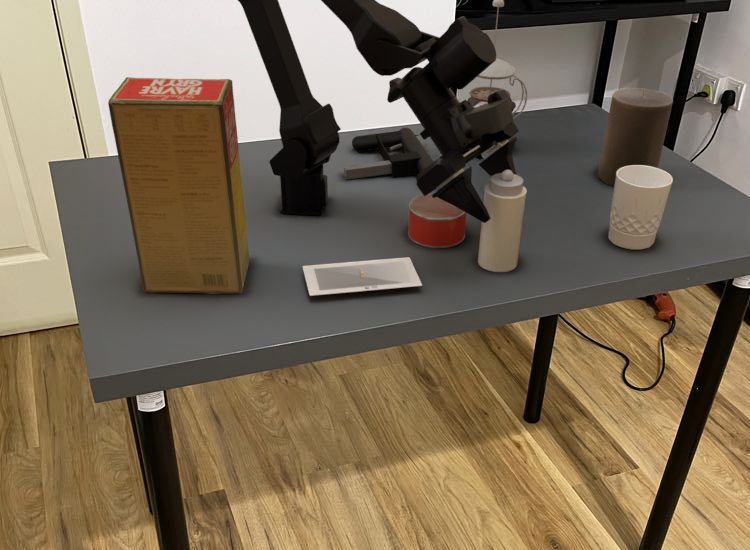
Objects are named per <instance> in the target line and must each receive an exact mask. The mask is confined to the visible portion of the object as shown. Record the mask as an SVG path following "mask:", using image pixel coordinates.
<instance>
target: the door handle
mask: <svg viewBox="0 0 750 550" xmlns="http://www.w3.org/2000/svg"><path fill="white" fill-rule="evenodd" d="M418 136H419V134H415V133H414V131H413V130H412V129H411V128H410V127H402V128H400V129H399V130H396V131H387V132H386V131H385V132H380V133H379V132H378V133H372V134H364V135H356V136H355V137H353V138H352V140H351V146H352V149H354V151H356V152H365V151H366V152H367V151H373V150H374V151H375V150H377V151H378V152H379V154H380V156H381V158H382V160H381V161H373V162H366V163H359V164H352V165H351V164H350V165H344V166H343V175H344V178H345V179H346V180H353V179H355V180H356V179H361V178H369V177H376V176H382V175H391V177H392V178H400V177H408V176H414V175H415V176H416V175H418V174H419V173H420V172H422V171H423V170H424V169H425V168H426V167H428V166H429V165H430V164H431V163H433V162H434V161H435V160H433V158H432V157H431V155H430V154H429V153H428V151H427V149H426V148H425V147H424V146H423V144H422V143H421V140H420V139H418ZM387 148H388V149H387ZM401 148H403V150H404V152H402V153H396V154H395V153H394V154H390V153H392V152H393V151H395V150H397V149H401Z"/></svg>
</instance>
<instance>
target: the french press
mask: <svg viewBox="0 0 750 550" xmlns="http://www.w3.org/2000/svg"><path fill="white" fill-rule="evenodd" d="M492 6H493V7H494V8H495V7H496V8H497V11H496V21H495V31H494V41H493V45H494V47H495V48H496V39H497V33H498V32H497V30H498V20H499V10H500V8H502V7H504V6H505V0H493V1H492ZM516 72H517V70H516V68H515V67H514V66H513V65H511V64H510V63H509V62H507V61H505V60H502V59H499V58H496V60H495V62H493V63H492V64H491V65H490V66H489V67H488V68H486V69H485V70H484V71H483V72H482V73H481V74H479V75H478V76H477V77H476V78H480V79H484V80H490V83H489V84H490V85H489V86H485V85H484V86H476V87H474V88H472V89H471V90H469V92H468V93H469V95H470V96H469V98H467V99H466V101H469V102H470V103H471V105H472V106H473V107H474V108H476V107H477V105H478V104H480V103H482V102H483V103H488V96H489V95H490V94H492V93H494V92H496V91H499V90H503V89H504V88H500V87H497V86H496V87H495V86H492V83H493V80H506V79H507V80H508V79H509V82H508V83H509V84H510V86H512V87H513V86H514V85H515V80H517V81H518V82H519V83H520V85H521V90H522V92H521V100H520V102H519V105H518V107H517V108H515V109H514V110H513V112H512V115H513V118H514V120H515V119H516V118H518V117H519V116H520V115H521V114H522V113H523V112H524V110H525V108H526V105H527V101H528V89H527V87H526V84H525V83H524V82H523V81H522V80H521V79H520V78H519V77H517V76H516V75H515V74H516ZM512 78H513V80H512ZM504 91H505V92H506V93H507V94H508V96H509V97H510V98H511V93H510V92H509V90H507V89H504ZM524 96H525V97H524ZM523 101H524V103H523ZM522 103H523V105H522ZM482 105H483V104H481V105H479V106H482ZM521 106H522V108H521V111H520V112H519V113H518V114H516V113H517V112H518V111H519V109H520V107H521ZM515 114H516V115H515ZM514 115H515V116H514Z"/></svg>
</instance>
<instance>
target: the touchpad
mask: <svg viewBox="0 0 750 550" xmlns="http://www.w3.org/2000/svg"><path fill="white" fill-rule="evenodd" d="M301 267H302V271H303V275H304V279H305V282H306V283H305V284H306V287H307V290H308V294H309V297H312V296H323V295H333V294H334V295H335V294H336V295H337V294H346V293H358V292H367V291H379V290H380V291H381V290H390V289H400V288H401V289H402V288H412V287H422V286H423V282H422V281H421V279H420V277H419V275H418V273H417V270H416V269H415V266H414V264H413V261H412V260H411V258H410V257H409V256H407V257H396V258H383V259H382V258H381V259H369V260H359V261H357V260H356V261H345V262H334V263H323V264H322V263H320V264H311V265H310V264H309V265H302V266H301Z"/></svg>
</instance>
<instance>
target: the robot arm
mask: <svg viewBox="0 0 750 550" xmlns="http://www.w3.org/2000/svg"><path fill="white" fill-rule="evenodd" d="M320 1H321V2H322V3H323V4H324V5H325V6H326V7H327V8H328V9H329V10H330V11H331V12H332V14H333V15H334V16H335V17H336V18H338V19H339V21H341V22H342V23H343V25H345V27H346V28H347V29H348V31H349V32H350V34H351V36H352V38H353V42H354V45H355V48H356V50H357V51H358V53H359V54H360V55H361V56H362V58H363V59H364V61H365V62H366V63H367V65H368V66H369V67H370V69H371V70H372V71H373V72H374V73H376V74H377V75H379V76H381V77H384V76H389V77H390V76H391V77H392V76H393V75H396V74H398V73H399V72H401V71H404V70H405V69H410V70H409V71H408V72H407V73H405V75H404V76H402V78H401V77H395V78H392V79H391V80H389V81H388V84H389V89H388V92H387V98H386V101H387V102H388V103H390V104H391V103H393V102H395V101H397V100H400V99H402V98H403V99H404V101H405V103H406V104H407V105H408V107H409V108H410V110H411V111H412V113H413V114H414V116H415V117H416V118H417V120H418V121H419V123H420V125H421V126H422V127H423V130H422V131H420V132H419V136H420V137H421V138H422V139H423V141H424V140H426V139H428V138H430V140H431V141H432V143H433V144H434V146H435V147H436V148H437V150H438V152H439V153H440V154H441V156H439V157H437V158H436V159H435V160H433V161H434V162H433V163H431V164H430V165H429V166H428V167H426V168H425V169H424V170H423V171H422V172H420V173H419V174H416V187H417V188H418V189H419V191H420V193H421V195H424V197H425V196H426V195H428V194H433V195H432V197H433V198H436V197H437V198H439V199H441V200H444V201H446V202H448V203H450V204H452V205H454V206H456V207H457V208H459V209H461V210H463V211H464V212H466V213H467V214H468V215H470V216H471V217H473V218H475V219H476V220H478V221H480V222H483V223H486V222H487V221H489V220H490V216H489V213H488V211H487V209H486V207H485V205H484V204H483V202H484V201H482V198H481V196H480V195H479V193H478V192H477V190H476V188H475V186H474V185H473V181H472V176H473V175H472V173H473V172H472V171H473V169H472V167H473V166H469V167H468V168H466V169H464V168H465V167H466V166H467V164H468V163H470V162H472V161H473V160H474V159H477V160H479V161H481V160H482V161H481V162H479V164H478V166H479V167H480V168H481V169H482V170H483V171H484V172H485V173H486V174H488V175H489V176H490V177H491V176H493V175H494V174H498V173H502V172H503V171H504V170H507V169H508V170H511V171H512V172H513V174H515V175H518V173H517V171H516V167H515V163H514V158H513V152H514V147H515V143H516V142H517V140H518V138H517V136H515V135H516V134H518V133H519V131H520V130H519V128H518V127H517V125H516V124H515V119H514V118H513V117H514V114H513V115H512V113H513V112H514V111H515V109H516V107H517V104H516V102H515V101H513V100H512V98H511V96H510V97H509V96H508V94H507V93H506V92H505V91H504V90H505V89H504V88H502V89H503V90H499V91H496V92H494V93H492V94H490V95H489V96H488V102H485V103H483V104H481V105H482V106H480V105H478V106H474V107H476V108H474V107H473V106H472V105H471V103H470V102H469V101H467V99H464V100H461V101H460V100H459V99H458V97H457V96H456V95H455V93H454V91H453V90H452V89H455V90H458V91H459V90H463V89H464V88H465V87H467V86H468V85H469V84H470V83H472V82H473V81H474V80H475V79H476V78H478V77H477V76H478V75H479V74H481V73H482V72H483V71H484V70H485V69H486V68H488V67H489V66H490V65H491V64H492V63H493V62H495V60H496V59H497V50H496V46H495V47H494V42H493V41H492V39H491V37H490V36H489V35H488V34H487V32H484V31H483V30H482V29H481V28H480V27H478V26H477V25H475V24H473V23H470V22H469V21H468V19H467V18H466V17H465V16H463V15H462V16H460V17H458V18H456V19H455V20H453V22H451V24H450V25H449V26H448V28H447V30H446V31H445V32H443V33H442V35H441V36H437V35H434V34H431V33H427V32H424V31H421V30H420V29H419V27H418V26H417V25H416V24H415V23H414V22H413V21H411V20H410V19H408V18H407V17H405V16H404V15H403V14H402V13H400V12H399V11H397V10H395V9H393V8H391V7H388V6H387V5H384V4H382V3H380V2H378V1H377V0H320ZM237 2H238V3H240V5H241V7H242V10H243V12H244V15H245V18H246V20H247V23H248V25H249V28H250V31H251V34H252V36H253V39H254V41H255V44H256V46H257V49H258V52H259V54H260V57H261V60H262V63H263V65H264V68H265V70H266V73H267V76H268V79H269V81H270V84H271V86H272V89H273V91H274V94H275V97H276V99H277V101H278V105H279V108H280V114H279V128H278V129H279V130H278V131H279V136H280V140H281V144H282V148H281V149H280V150H278V152H277V153H276V154H275V155H273V157H271V159H270V160H269V161H268V163H269V166H270V168H271V170H272V174H273V175H274V176H277V177H279V181H280V197H281V205H280V208H279V213H280V214H284V215H285V214H288V215H305V216H307V215H308V216H322V214H323V212H324V208H326V206H327V204H328V200H329V191H328V190H329V189H328V187H329V186H328V176H327V175H326V174H324V164H327V163H329V162H330V159H331V156H332V155H333V154H334V153H335V152H336V151H337V149H338V146H339V144H340V135H339V131H341V127H340V126H339V124H338V123H337V120H336V118H335V113H334V108H333V107H332V105H331V103H326V104H324V105H322V104H321V103H320V102H319V101H318V100H317V99H316V98H315V97H314V95H313V94H312V92H311V89H310V85H309V82H308V81H307V77H306V75H305V71H304V68H303V66H302V63H301V61H300V57H299V55H298V53H297V50H296V46H295V44H294V40H293V38H292V36H291V33H290V30H289V28H288V23H287V21H286V19H285V16H284V13H283V11H282V8H281V5H280V2H279V0H237ZM426 60H427V61H428V63H426V64H425V66H424V67H420V66H417V65H419V64H421V63H423V62H424V61H426ZM514 136H515V137H514ZM512 137H513V138H512ZM434 191H435V192H434ZM432 192H433V193H432Z"/></svg>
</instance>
